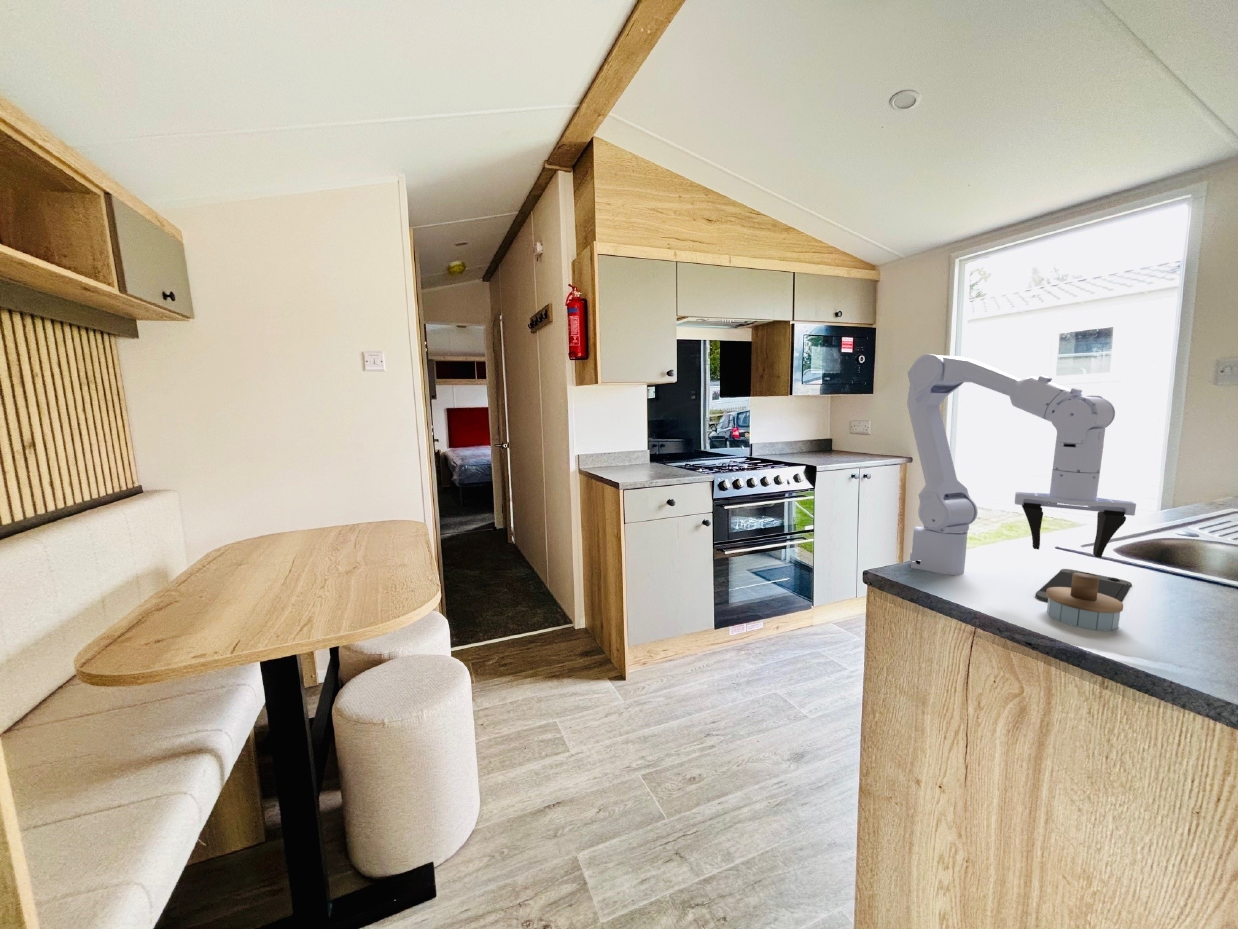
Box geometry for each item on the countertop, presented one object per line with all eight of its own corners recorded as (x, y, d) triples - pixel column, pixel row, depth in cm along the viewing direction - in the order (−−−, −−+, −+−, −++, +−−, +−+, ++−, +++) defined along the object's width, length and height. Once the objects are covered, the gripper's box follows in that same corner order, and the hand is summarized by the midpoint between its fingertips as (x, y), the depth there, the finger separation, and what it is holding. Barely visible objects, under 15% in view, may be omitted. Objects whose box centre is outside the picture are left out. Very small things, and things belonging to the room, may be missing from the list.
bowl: (1051, 626, 77) (1053, 604, 77) (1043, 608, 84) (1045, 588, 83) (1123, 639, 73) (1126, 616, 72) (1109, 620, 79) (1111, 599, 79)
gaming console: (1063, 566, 101) (1133, 580, 94) (1062, 572, 101) (1132, 586, 94) (1033, 593, 86) (1114, 612, 78) (1032, 600, 86) (1113, 620, 79)
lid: (1053, 605, 76) (1055, 579, 76) (1040, 587, 84) (1042, 563, 83) (1132, 617, 72) (1136, 590, 71) (1111, 597, 79) (1114, 572, 79)
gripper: (1021, 469, 82) (1012, 550, 84) (1146, 477, 74) (1133, 566, 75) (1017, 465, 88) (1009, 540, 89) (1133, 472, 79) (1121, 554, 81)
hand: (1065, 551), depth 83 cm, fingers open, 7 cm apart
